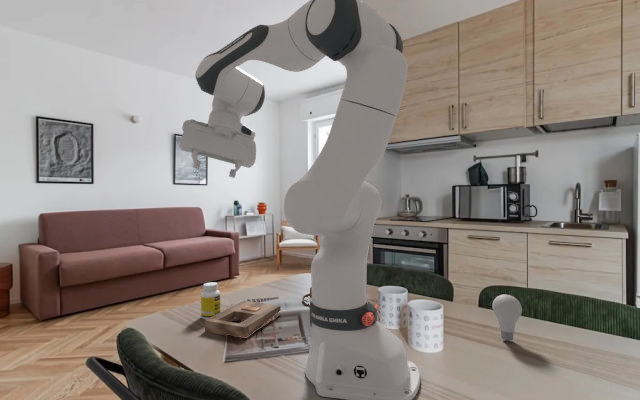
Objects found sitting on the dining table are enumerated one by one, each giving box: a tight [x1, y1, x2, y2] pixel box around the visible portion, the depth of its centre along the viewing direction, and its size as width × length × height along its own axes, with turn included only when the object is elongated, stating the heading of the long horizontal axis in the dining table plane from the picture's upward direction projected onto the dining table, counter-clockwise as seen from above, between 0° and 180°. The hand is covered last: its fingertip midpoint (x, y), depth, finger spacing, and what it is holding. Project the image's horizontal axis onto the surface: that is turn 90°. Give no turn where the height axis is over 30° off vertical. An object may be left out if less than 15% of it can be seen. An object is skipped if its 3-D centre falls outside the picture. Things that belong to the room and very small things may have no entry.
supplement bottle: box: [200, 281, 221, 321], centre depth 99 cm, size 5×5×10 cm
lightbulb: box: [491, 294, 523, 342], centre depth 79 cm, size 6×6×11 cm
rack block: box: [204, 300, 282, 337], centre depth 93 cm, size 13×17×3 cm
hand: (214, 172), depth 90 cm, fingers open, 8 cm apart
